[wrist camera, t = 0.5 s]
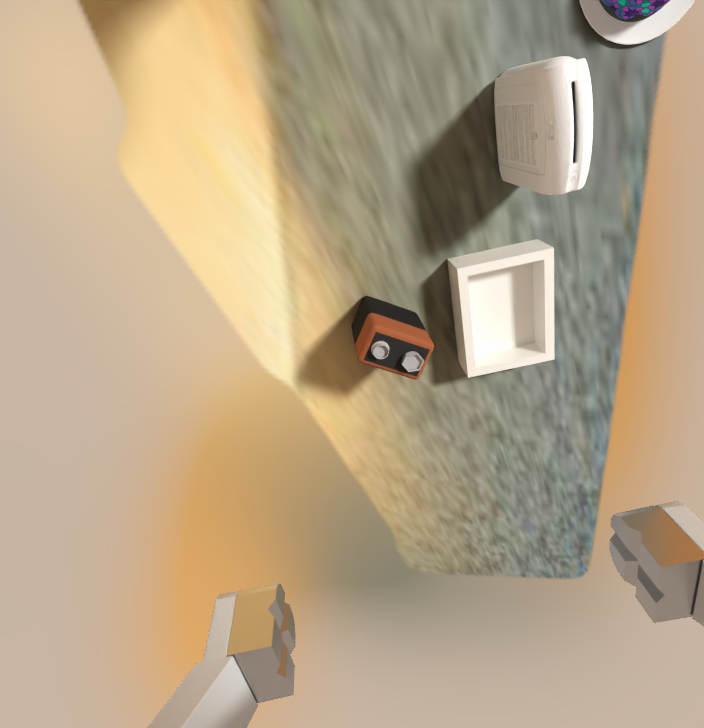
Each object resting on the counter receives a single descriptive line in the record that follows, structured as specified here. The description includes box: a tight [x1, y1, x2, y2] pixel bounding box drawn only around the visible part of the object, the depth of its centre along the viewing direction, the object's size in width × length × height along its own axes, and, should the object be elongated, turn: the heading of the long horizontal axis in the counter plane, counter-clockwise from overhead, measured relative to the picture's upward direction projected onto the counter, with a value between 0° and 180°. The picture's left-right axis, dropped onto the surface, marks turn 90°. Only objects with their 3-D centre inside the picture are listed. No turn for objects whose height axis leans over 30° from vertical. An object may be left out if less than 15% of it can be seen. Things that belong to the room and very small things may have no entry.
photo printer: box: [494, 56, 593, 195], centre depth 41 cm, size 10×4×12 cm, turn 13°
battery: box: [352, 296, 434, 379], centre depth 51 cm, size 4×7×10 cm, turn 69°
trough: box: [447, 239, 554, 378], centre depth 53 cm, size 13×10×4 cm
